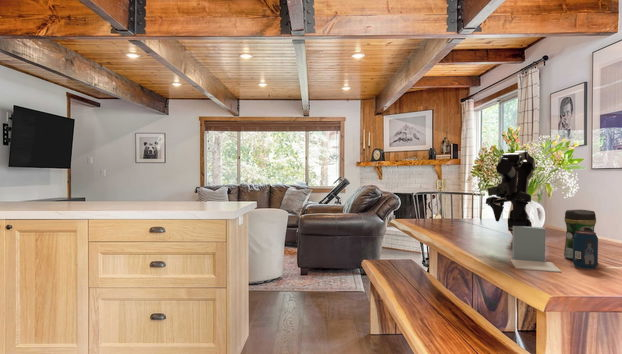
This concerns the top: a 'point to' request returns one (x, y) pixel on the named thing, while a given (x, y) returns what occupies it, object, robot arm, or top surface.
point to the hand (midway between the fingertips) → (505, 220)
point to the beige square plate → (535, 265)
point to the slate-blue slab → (528, 243)
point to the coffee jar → (577, 227)
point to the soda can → (585, 250)
